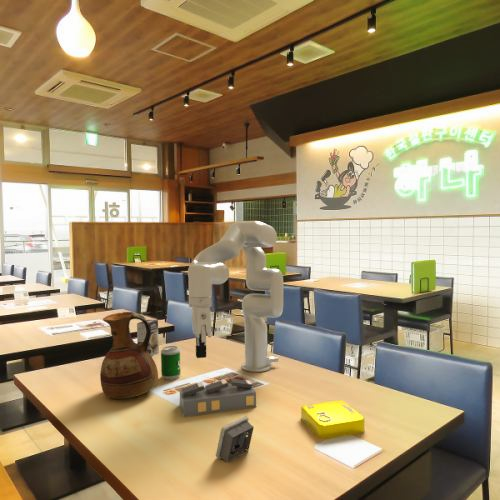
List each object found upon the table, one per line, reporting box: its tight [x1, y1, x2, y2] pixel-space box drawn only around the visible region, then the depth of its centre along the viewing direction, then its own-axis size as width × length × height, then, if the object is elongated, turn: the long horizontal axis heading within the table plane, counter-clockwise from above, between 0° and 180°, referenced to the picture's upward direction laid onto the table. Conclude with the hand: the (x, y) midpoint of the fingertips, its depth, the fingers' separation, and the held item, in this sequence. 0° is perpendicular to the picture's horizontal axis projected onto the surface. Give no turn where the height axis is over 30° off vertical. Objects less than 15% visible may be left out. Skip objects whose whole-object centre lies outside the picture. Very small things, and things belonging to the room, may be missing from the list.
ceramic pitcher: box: [99, 311, 159, 400], centre depth 154 cm, size 20×20×30 cm
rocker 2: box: [204, 378, 229, 393], centre depth 142 cm, size 7×4×1 cm, turn 106°
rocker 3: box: [229, 378, 253, 388], centre depth 145 cm, size 7×4×1 cm, turn 107°
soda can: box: [160, 345, 181, 381], centre depth 170 cm, size 8×8×12 cm
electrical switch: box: [215, 416, 255, 464], centre depth 111 cm, size 9×5×9 cm, turn 136°
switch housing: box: [179, 383, 257, 418], centre depth 142 cm, size 24×10×6 cm, turn 107°
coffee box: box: [136, 319, 160, 357], centre depth 202 cm, size 9×6×16 cm
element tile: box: [300, 399, 365, 440], centre depth 128 cm, size 15×15×5 cm
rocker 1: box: [181, 381, 205, 396], centre depth 140 cm, size 7×4×1 cm, turn 106°
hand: (201, 357), depth 140 cm, fingers closed
